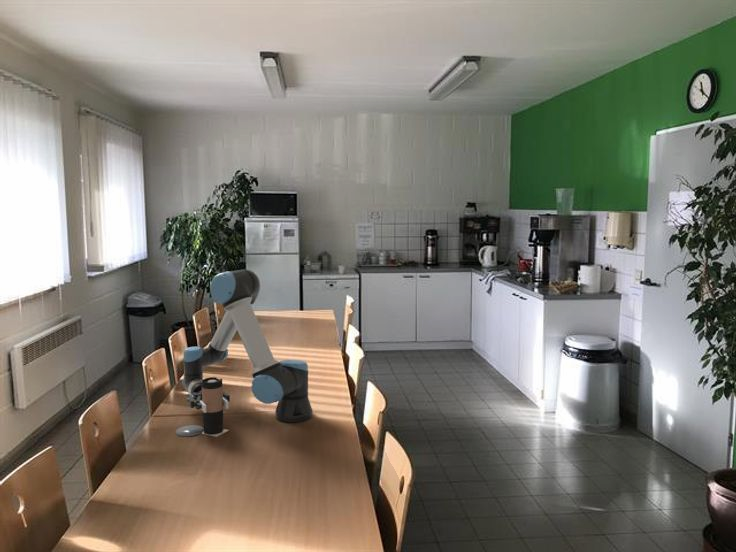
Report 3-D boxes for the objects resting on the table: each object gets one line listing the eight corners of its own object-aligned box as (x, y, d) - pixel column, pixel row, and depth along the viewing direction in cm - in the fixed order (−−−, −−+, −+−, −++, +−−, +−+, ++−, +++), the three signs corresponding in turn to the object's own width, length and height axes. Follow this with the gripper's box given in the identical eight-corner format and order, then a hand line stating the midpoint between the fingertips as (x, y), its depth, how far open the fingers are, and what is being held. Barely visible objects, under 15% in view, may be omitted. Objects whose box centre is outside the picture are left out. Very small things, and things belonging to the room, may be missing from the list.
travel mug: (202, 435, 220) (201, 383, 217) (203, 428, 227) (201, 377, 225) (224, 433, 222) (222, 382, 219) (223, 426, 229) (222, 376, 227)
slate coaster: (209, 429, 227) (209, 427, 226) (190, 438, 218) (190, 436, 218) (189, 425, 231) (189, 423, 231) (170, 433, 222) (170, 432, 222)
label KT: (228, 430, 225) (228, 430, 225) (216, 436, 219) (216, 436, 219) (210, 426, 229) (210, 426, 229) (197, 432, 223) (197, 432, 223)
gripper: (225, 395, 244) (243, 412, 225) (174, 404, 234) (188, 422, 214) (224, 378, 243) (242, 393, 224) (173, 385, 233) (188, 401, 213)
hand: (216, 407), depth 219 cm, fingers open, 8 cm apart
